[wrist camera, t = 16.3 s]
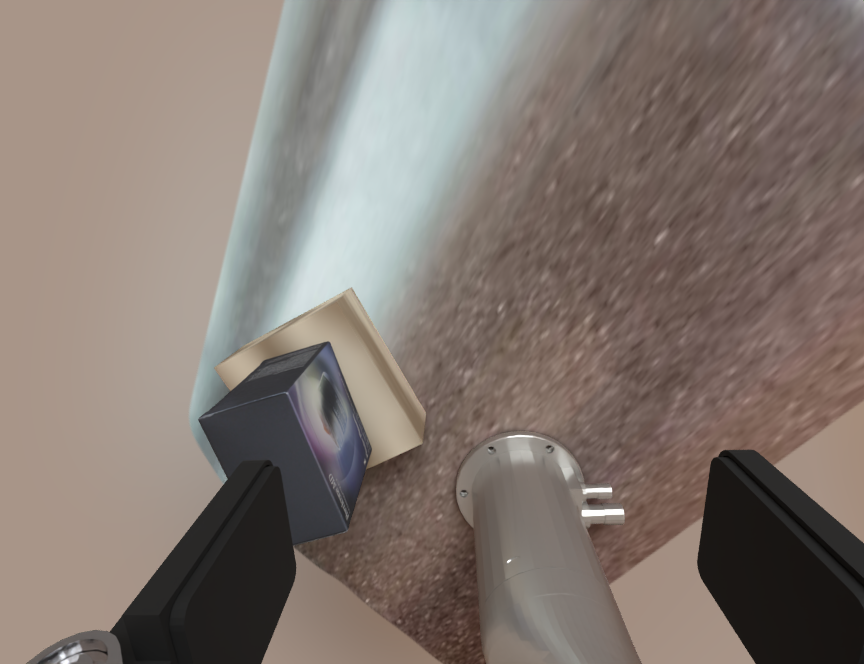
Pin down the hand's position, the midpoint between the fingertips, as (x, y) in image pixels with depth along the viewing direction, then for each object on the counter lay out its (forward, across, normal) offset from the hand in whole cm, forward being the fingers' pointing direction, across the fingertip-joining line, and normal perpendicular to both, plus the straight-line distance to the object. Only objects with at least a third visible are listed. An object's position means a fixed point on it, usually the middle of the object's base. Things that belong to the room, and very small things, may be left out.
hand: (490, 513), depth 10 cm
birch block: (+33, +12, +10) cm, 36 cm away
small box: (+27, +12, +10) cm, 31 cm away
